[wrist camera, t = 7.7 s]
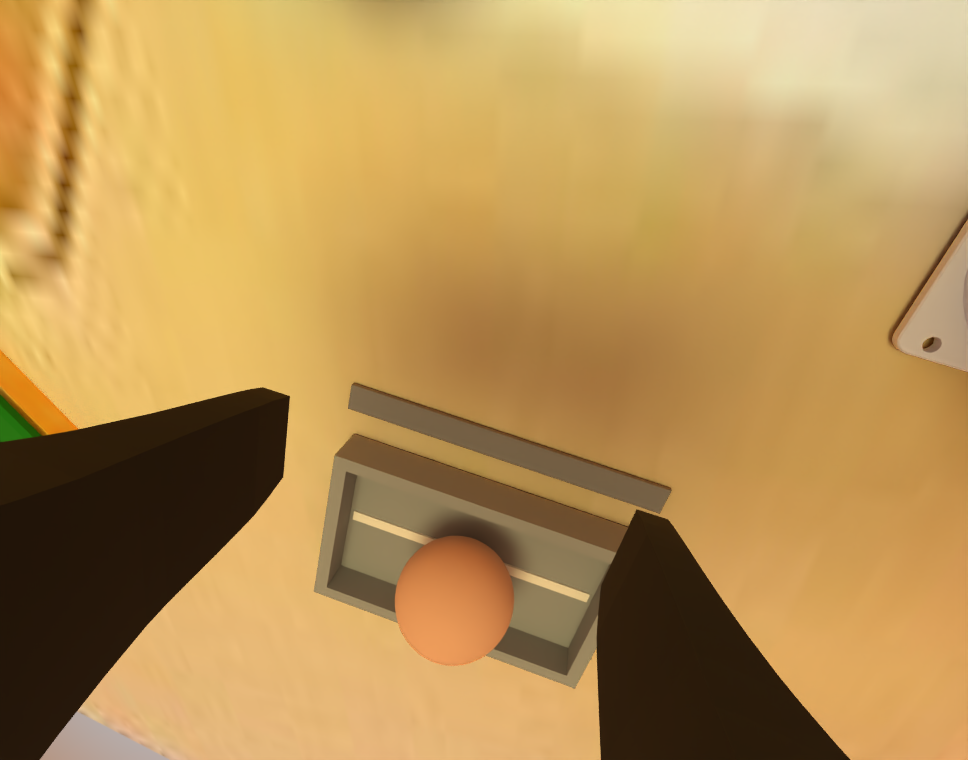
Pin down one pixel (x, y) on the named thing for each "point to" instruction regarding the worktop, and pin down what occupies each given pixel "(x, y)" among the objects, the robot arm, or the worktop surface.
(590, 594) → the tray
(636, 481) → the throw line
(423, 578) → the ball
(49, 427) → the dish sponge
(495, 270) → the worktop surface
